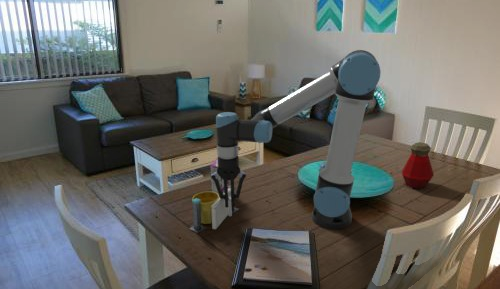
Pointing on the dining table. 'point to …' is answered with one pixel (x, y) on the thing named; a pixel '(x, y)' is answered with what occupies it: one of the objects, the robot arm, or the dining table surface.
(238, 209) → the hinge post
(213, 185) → the candy bar box
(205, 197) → the plant pot
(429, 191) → the dining table surface
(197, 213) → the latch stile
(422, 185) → the bottle
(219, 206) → the white rounded panel
